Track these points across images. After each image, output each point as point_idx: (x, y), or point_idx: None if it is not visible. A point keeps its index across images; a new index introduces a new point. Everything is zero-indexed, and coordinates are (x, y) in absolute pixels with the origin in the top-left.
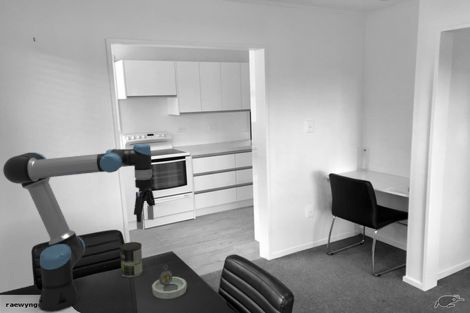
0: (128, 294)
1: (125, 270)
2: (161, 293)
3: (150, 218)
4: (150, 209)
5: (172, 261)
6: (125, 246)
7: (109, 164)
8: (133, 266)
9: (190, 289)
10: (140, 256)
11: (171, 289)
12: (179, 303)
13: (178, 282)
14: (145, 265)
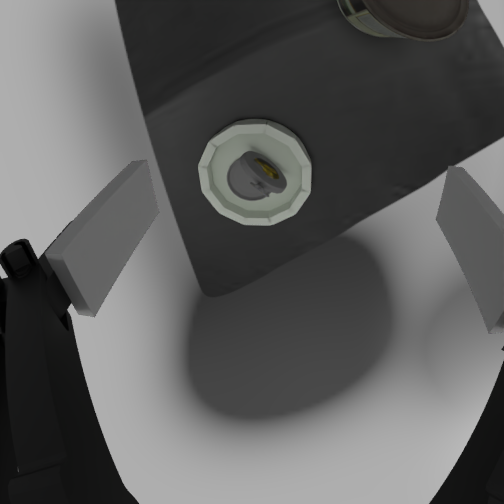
0: (208, 50)
1: None
2: (199, 169)
3: (446, 200)
4: (487, 274)
5: (472, 133)
6: None
7: None
8: (350, 12)
9: None
10: (394, 36)
11: (247, 181)
12: (196, 213)
13: (297, 189)
14: None
